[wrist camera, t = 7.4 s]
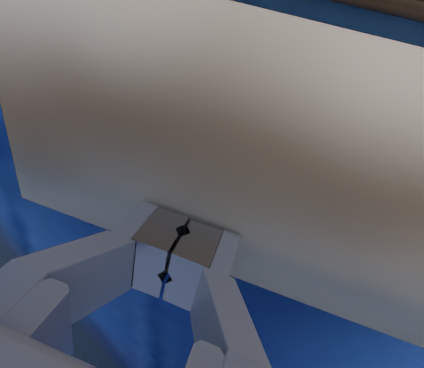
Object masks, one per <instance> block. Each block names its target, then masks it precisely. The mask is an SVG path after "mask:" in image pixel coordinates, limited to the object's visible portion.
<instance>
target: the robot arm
mask: <svg viewBox="0 0 424 368" xmlns="http://www.w3.org/2000/svg"><path fill="white" fill-rule="evenodd" d="M189 222H190V223H189ZM223 231H224V232H223ZM185 233H186V234H185ZM240 238H241V237H240V235H238V234H235V233H232V232H229V231H226V230H222V229H219V228H216V227H213V226H210V225H207V224H205V223H202V222H199V221H196V220H191V221H190V219H189V218H188V217H186V216H183V215H180V214H178V213H175V212H173V211H170V210H167V209H165V208H162V207H160V206H159V207H158V206H156V205H154V204H151V203H149V202H146V201H143V202H140V203H139V204H138V205H137V206H136V207H135V208H134V210H133V211H132V212H131V213H130V214H129V215H128V216H127V217H126V218H125V219H124V220H123V221H122V222H121V223H120V224H119V225H118V226H117V227H116V228H115V230H114V231H113V232H111V231H108V230H106V231H103V232H100V233H97V234H93V235H90V236H87V237H83V238H80V239H77V240H74V241H70V242H67V243H64V244H60V245H57V246H54V247H51V248H47V249H44V250H41V251H37V252H34V253H31V254H28V255H24V256H21V257H18V258H14V259H12V260H10V261H9V262H8V263H7V264H5V265H4V266H3V267H1V268H0V368H97V367H95V366H93V365H91V364H88V363H86V362H84V361H82V360H80V359H77V358H75V357H73V356H71V354H72V353H73V338H72V324H73V323H75V322H77V321H79V320H80V319H82V318H84V317H85V316H87V315H89V314H90V313H92V312H94V311H95V310H97V309H99V308H100V307H102V306H104V305H105V304H107V303H109V302H111V301H112V300H114V299H116V298H117V297H119V296H121V295H122V294H124V293H126V292H127V291H129V290H130V289H131V288H133V289H136V290H138V291H141V292H144V293H146V294H149V295H152V296H154V297H157V298H159V297H160V295H161V293H162V291H163V290H164V294H163V300H164V301H167V302H169V303H171V304H174V305H176V306H178V307H181V308H183V309H185V310H187V311H190V319H191V325H192V331H193V337H194V344H193V347H192V350H191V352H190V355H189V358H188V361H187V363H186V366H185V368H272V367H271V365H270V363H269V360H268V358H267V355H266V353H265V351H264V348H263V346H262V343H261V341H260V338H259V336H258V334H257V331H256V329H255V326H254V324H253V322H252V319H251V317H250V314H249V312H248V309H247V307H246V305H245V302H244V300H243V297H242V295H241V293H240V290H239V288H238V285H237V283H236V281H235V279H234V278H232V277H230V273H231V270H232V266H233V263H234V259H235V256H236V252H237V249H238V245H239V242H240ZM164 288H165V289H164Z"/></svg>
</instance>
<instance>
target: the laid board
mask: <svg viewBox="0 0 424 368" xmlns="http://www.w3.org/2000/svg"><path fill="white" fill-rule="evenodd" d="M330 1H334V2H338V3H343V4H347V5H351V6H355V7H360V8H364V9H368V10H373V11H377V12H381V13H385V14H390V15H394V16H398V17H402V18H407V19H411V20H415V21H420V22H424V0H330Z"/></svg>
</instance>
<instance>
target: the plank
mask: <svg viewBox="0 0 424 368" xmlns="http://www.w3.org/2000/svg"><path fill="white" fill-rule="evenodd" d="M0 104H1V108H2V113H3V117H4V122H5V126H6V130H7V135H8V139H9V144H10V148H11V152H12V157H13V161H14V166H15V170H16V175H17V179H18V183H19V188H20V192H21V197H22V198H24V199H27V200H29V201H32V202H35V203H37V204H40V205H43V206H45V207H48V208H51V209H53V210H56V211H59V212H61V213H64V214H67V215H69V216H72V217H75V218H77V219H80V220H83V221H85V222H88V223H91V224H93V225H96V226H99V227H101V228H104V229H107V230H109V231H112V232H113V231H114V230H115V228H116V227H117V226H118V225H119V224H120V223H121V222H122V221H123V220H124V219H125V218H126V217H127V216H128V215H129V214H130V213H131V212H132V211H133V210H134V208H135V207H136V206H137V205H138V204H139V203H140V202H143V201H146V202H149V203H151V204H154V205H156V206H158V207H159V206H160V207H162V208H165V209H167V210H170V211H173V212H175V213H178V214H180V215H183V216H186V217H188V218H189V219H190V221H191V220H196V221H199V222H202V223H205V224H207V225H210V226H213V227H216V228H219V229H222V230H226V231H229V232H232V233H235V234H238V235H240V237H241V238H240V242H239V245H238V249H237V252H236V256H235V259H234V263H233V266H232V270H231V273H230V276H232V277H235V278H238V279H240V280H243V281H246V282H248V283H251V284H254V285H256V286H259V287H262V288H264V289H267V290H270V291H272V292H275V293H278V294H280V295H283V296H286V297H288V298H291V299H294V300H296V301H299V302H302V303H304V304H307V305H310V306H312V307H315V308H318V309H320V310H323V311H326V312H328V313H331V314H334V315H336V316H339V317H342V318H344V319H347V320H350V321H352V322H355V323H358V324H360V325H363V326H366V327H368V328H371V329H374V330H376V331H379V332H382V333H384V334H387V335H390V336H392V337H395V338H398V339H400V340H403V341H406V342H408V343H411V344H414V345H416V346H419V347H422V348H424V47H420V46H416V45H412V44H408V43H404V42H400V41H396V40H392V39H388V38H384V37H380V36H375V35H371V34H367V33H363V32H359V31H355V30H351V29H347V28H343V27H339V26H335V25H331V24H326V23H322V22H318V21H314V20H310V19H306V18H302V17H298V16H294V15H290V14H286V13H281V12H277V11H273V10H269V9H265V8H261V7H257V6H253V5H249V4H245V3H241V2H237V1H232V0H0ZM189 223H190V222H189ZM223 232H224V231H223ZM185 234H186V233H185Z"/></svg>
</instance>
